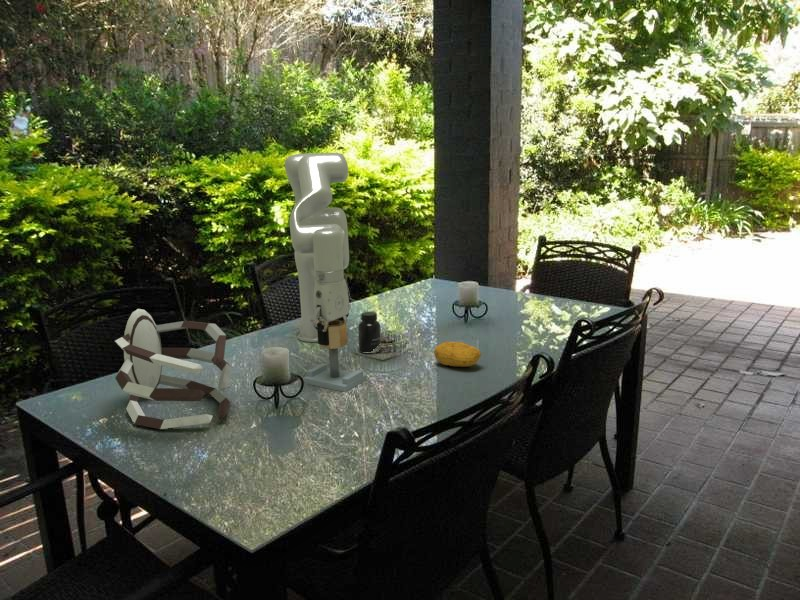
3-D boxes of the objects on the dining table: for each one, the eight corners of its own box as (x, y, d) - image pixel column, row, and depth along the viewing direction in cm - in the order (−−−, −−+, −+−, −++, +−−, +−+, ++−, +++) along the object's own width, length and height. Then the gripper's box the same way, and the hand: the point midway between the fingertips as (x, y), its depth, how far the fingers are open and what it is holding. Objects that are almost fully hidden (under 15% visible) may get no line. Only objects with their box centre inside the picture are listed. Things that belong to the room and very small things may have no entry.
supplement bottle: (378, 354, 200) (376, 316, 197) (356, 354, 201) (354, 316, 198) (383, 347, 206) (382, 310, 203) (362, 347, 208) (360, 310, 205)
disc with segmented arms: (183, 376, 184) (263, 415, 163) (89, 409, 165) (165, 458, 143) (176, 293, 177) (259, 323, 156) (76, 317, 158) (155, 355, 136)
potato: (443, 358, 195) (442, 336, 194) (484, 366, 188) (485, 343, 186) (429, 366, 189) (429, 343, 187) (472, 374, 182) (472, 351, 180)
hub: (314, 346, 176) (312, 324, 174) (330, 338, 182) (329, 318, 180) (335, 350, 172) (334, 328, 170) (351, 342, 178) (350, 321, 176)
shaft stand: (303, 383, 179) (301, 349, 176) (326, 371, 187) (324, 339, 185) (345, 392, 172) (343, 357, 169) (366, 379, 180) (365, 346, 177)
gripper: (320, 284, 163) (323, 352, 167) (360, 271, 177) (362, 333, 182) (296, 281, 167) (301, 347, 171) (337, 268, 181) (340, 330, 186)
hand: (332, 340), depth 176 cm, fingers closed on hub, 7 cm apart
